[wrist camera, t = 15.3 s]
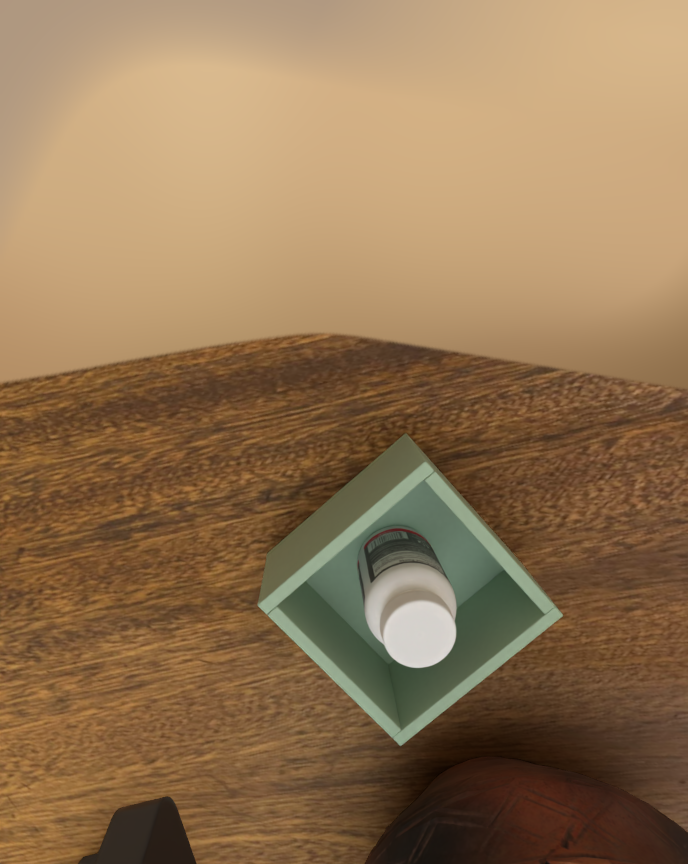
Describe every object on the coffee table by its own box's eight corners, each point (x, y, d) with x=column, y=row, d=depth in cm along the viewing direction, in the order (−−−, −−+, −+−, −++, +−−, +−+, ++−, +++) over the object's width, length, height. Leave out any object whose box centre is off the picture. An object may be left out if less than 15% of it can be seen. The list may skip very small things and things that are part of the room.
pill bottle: (420, 605, 43) (451, 690, 33) (346, 586, 43) (356, 668, 33) (444, 534, 42) (482, 601, 33) (369, 514, 42) (385, 577, 32)
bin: (266, 553, 42) (256, 605, 35) (405, 432, 41) (425, 460, 34) (386, 673, 45) (400, 747, 37) (521, 562, 43) (564, 615, 36)
